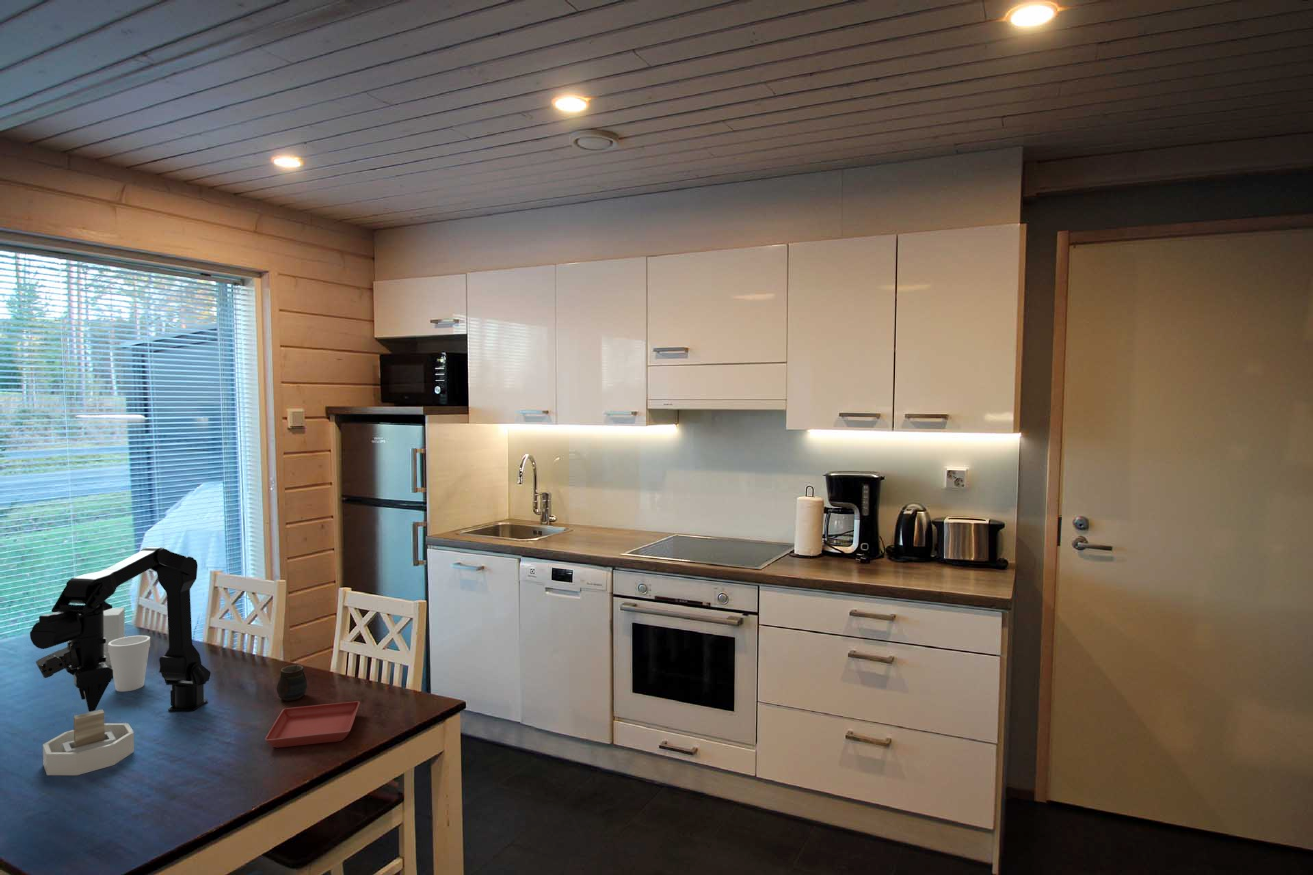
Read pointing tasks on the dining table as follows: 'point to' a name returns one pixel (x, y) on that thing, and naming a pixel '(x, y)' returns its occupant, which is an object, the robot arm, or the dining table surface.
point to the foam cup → (129, 661)
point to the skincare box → (113, 628)
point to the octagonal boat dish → (88, 751)
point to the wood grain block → (89, 728)
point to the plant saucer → (312, 724)
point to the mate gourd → (292, 683)
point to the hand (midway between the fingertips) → (88, 704)
